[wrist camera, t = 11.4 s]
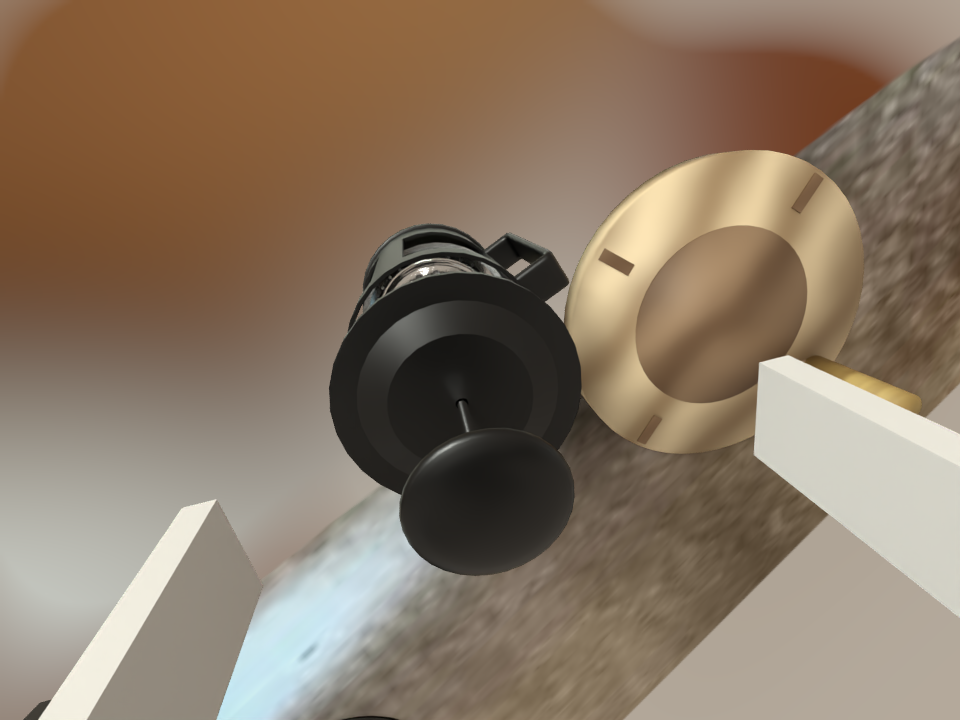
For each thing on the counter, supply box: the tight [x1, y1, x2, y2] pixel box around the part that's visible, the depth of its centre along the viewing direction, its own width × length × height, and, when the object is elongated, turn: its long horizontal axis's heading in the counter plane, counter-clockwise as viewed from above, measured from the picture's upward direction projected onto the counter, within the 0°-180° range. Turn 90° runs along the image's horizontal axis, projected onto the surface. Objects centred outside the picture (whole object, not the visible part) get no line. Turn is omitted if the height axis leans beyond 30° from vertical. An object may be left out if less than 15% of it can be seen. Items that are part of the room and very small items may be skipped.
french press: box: [329, 224, 582, 576], centre depth 21 cm, size 12×9×23 cm
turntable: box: [564, 150, 922, 454], centre depth 30 cm, size 22×22×9 cm
